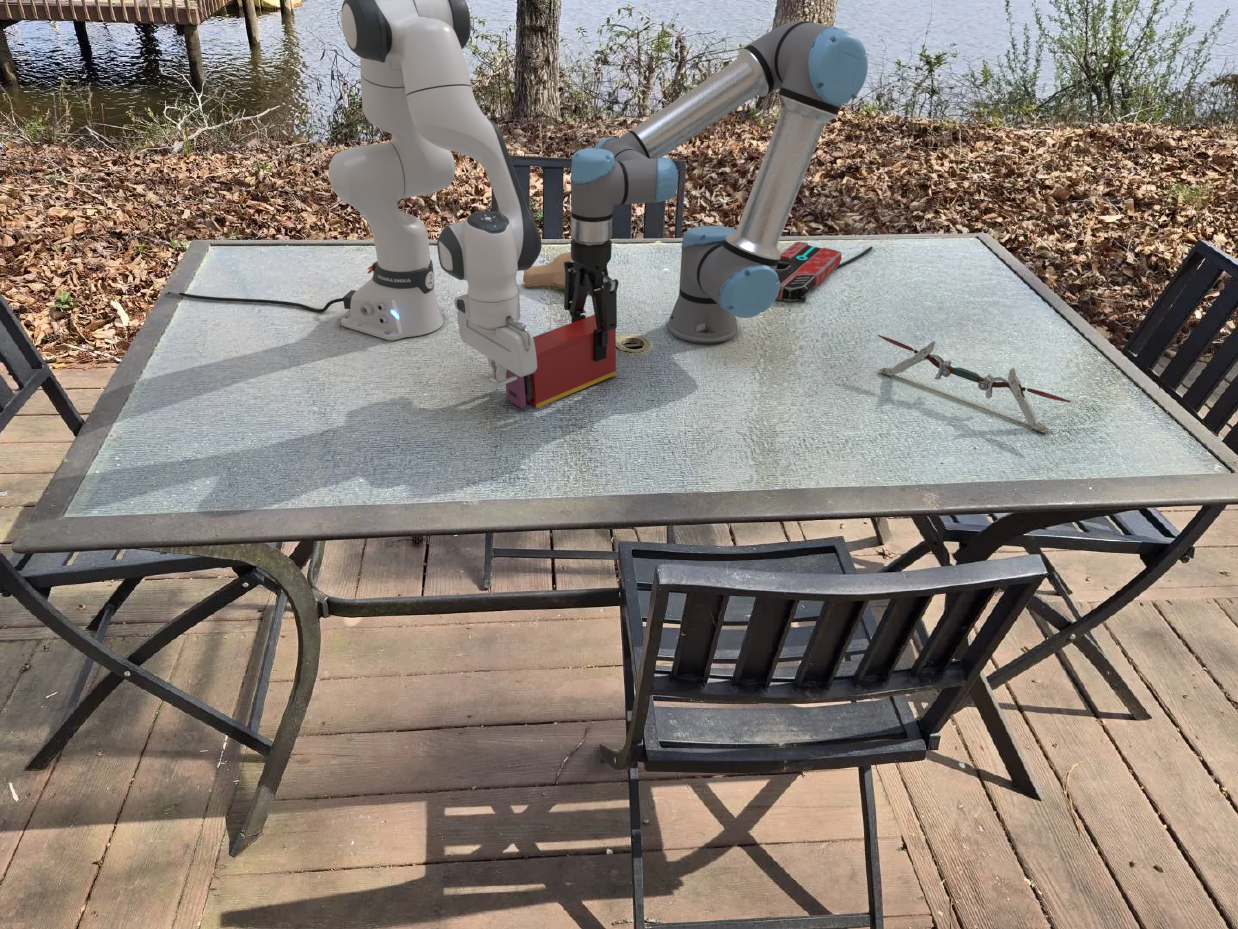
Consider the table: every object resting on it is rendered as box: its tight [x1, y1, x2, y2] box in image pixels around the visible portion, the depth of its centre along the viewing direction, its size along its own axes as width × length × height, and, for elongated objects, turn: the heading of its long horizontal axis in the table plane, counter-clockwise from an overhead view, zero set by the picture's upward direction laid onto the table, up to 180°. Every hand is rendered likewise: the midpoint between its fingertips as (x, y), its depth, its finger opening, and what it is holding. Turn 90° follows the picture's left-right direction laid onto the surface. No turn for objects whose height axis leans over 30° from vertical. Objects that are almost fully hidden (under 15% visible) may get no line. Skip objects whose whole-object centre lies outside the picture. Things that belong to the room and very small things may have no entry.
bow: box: [877, 334, 1072, 434], centre depth 169 cm, size 39×2×10 cm, turn 47°
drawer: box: [476, 369, 533, 409], centre depth 166 cm, size 25×5×10 cm, turn 130°
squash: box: [522, 251, 572, 291], centre depth 213 cm, size 11×20×9 cm, turn 90°
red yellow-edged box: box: [526, 313, 617, 409], centre depth 170 cm, size 20×6×11 cm, turn 130°
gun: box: [775, 241, 843, 303], centre depth 223 cm, size 4×31×19 cm
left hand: (499, 380), depth 160 cm, fingers closed, pressing on drawer
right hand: (589, 352), depth 173 cm, fingers closed on red yellow-edged box, 6 cm apart
